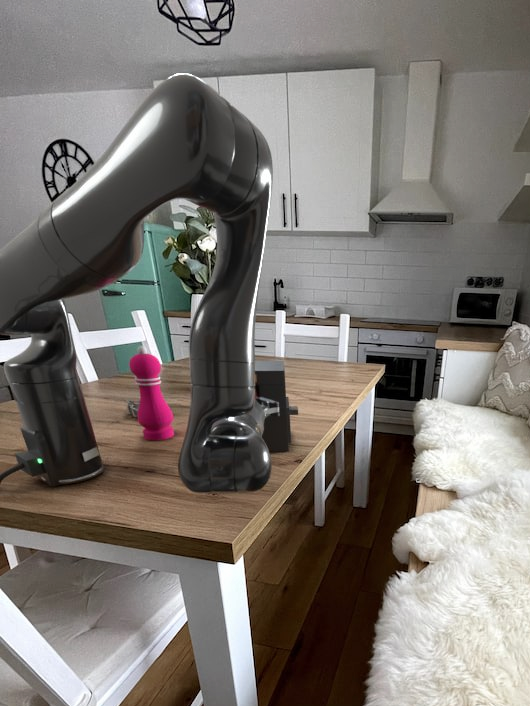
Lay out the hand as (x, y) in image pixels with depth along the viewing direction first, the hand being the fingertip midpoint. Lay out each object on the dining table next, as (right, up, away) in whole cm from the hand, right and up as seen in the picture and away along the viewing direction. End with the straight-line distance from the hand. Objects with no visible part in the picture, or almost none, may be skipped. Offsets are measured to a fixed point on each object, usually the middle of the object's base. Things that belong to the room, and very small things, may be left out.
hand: (247, 397), depth 77 cm
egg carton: (-36, +2, +29) cm, 46 cm away
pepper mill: (-24, -6, +14) cm, 29 cm away
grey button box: (0, -8, +12) cm, 14 cm away
